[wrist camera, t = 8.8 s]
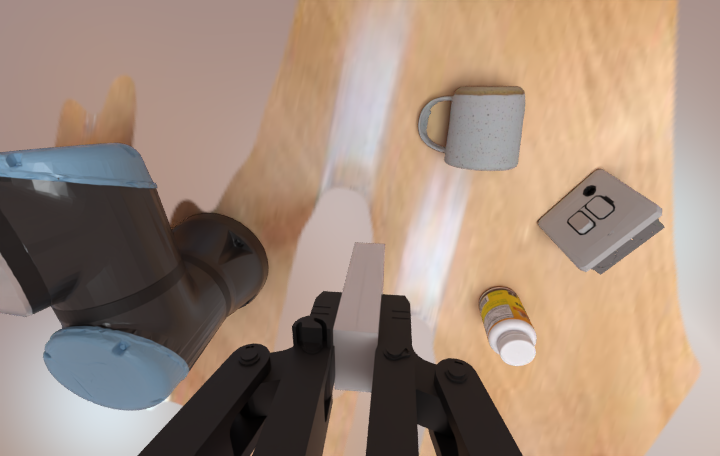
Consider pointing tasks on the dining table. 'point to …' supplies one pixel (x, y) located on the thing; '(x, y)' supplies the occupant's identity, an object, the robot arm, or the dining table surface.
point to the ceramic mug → (481, 127)
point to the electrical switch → (601, 222)
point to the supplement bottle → (508, 326)
